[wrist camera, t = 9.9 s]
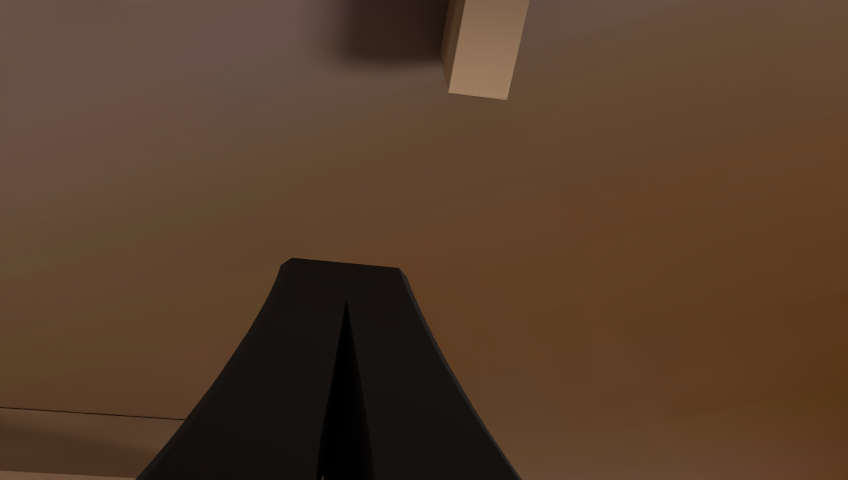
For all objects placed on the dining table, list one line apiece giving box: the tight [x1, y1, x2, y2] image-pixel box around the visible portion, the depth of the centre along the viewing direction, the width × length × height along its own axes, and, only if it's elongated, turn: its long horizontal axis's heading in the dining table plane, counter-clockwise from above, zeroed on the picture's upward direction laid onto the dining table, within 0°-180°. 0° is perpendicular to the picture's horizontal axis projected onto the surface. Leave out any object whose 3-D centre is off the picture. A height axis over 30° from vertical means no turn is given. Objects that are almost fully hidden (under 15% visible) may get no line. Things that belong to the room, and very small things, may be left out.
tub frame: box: [0, 0, 530, 480], centre depth 18 cm, size 18×18×2 cm
